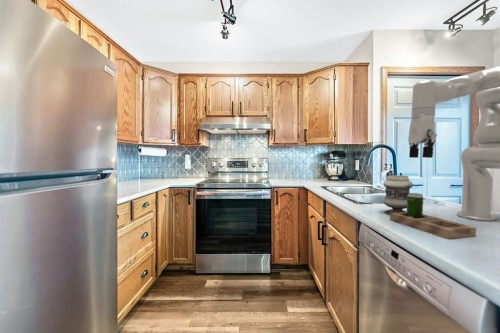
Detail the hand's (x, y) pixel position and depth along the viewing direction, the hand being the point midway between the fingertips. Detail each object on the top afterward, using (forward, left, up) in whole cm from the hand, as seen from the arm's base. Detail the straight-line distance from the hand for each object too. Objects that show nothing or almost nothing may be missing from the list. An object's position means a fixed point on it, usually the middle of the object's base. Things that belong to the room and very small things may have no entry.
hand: (420, 157), depth 95 cm
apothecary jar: (-16, -7, -27) cm, 32 cm away
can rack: (+3, +3, -27) cm, 27 cm away
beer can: (-1, -1, -27) cm, 27 cm away
